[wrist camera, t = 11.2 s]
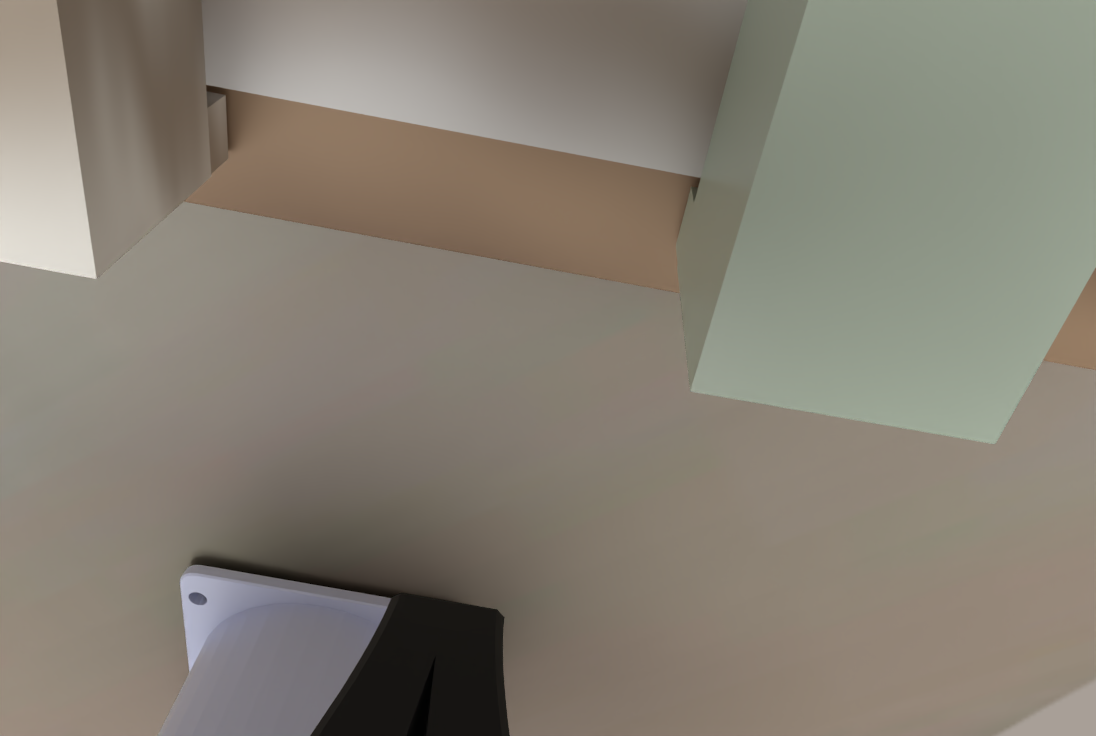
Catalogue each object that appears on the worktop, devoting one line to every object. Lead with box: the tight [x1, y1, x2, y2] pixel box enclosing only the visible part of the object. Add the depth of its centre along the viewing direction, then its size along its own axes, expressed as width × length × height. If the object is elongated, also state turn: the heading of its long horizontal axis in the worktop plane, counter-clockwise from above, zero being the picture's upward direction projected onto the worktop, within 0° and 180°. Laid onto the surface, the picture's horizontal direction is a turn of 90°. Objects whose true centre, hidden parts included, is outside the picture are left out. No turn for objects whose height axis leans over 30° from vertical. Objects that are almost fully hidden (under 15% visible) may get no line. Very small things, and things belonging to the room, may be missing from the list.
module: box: [676, 0, 1096, 444], centre depth 12 cm, size 7×4×5 cm, turn 171°
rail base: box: [0, 0, 1096, 370], centre depth 13 cm, size 9×24×6 cm, turn 81°
